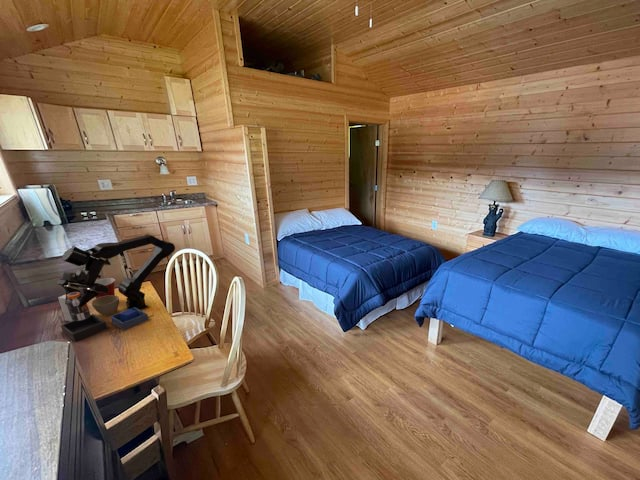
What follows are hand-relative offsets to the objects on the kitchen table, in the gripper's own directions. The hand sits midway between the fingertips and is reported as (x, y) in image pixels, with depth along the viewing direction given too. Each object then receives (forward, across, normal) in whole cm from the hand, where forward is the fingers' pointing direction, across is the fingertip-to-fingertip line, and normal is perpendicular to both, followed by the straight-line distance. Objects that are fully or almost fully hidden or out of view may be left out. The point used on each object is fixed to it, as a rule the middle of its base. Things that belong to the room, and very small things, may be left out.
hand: (73, 305), depth 122 cm
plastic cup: (-7, -12, +26) cm, 30 cm away
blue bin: (+1, +11, +18) cm, 21 cm away
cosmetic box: (+4, -13, +16) cm, 20 cm away
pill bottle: (+4, 0, +6) cm, 7 cm away
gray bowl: (-1, -4, +21) cm, 21 cm away
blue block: (+1, +11, +18) cm, 21 cm away
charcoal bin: (+8, 0, +10) cm, 13 cm away
